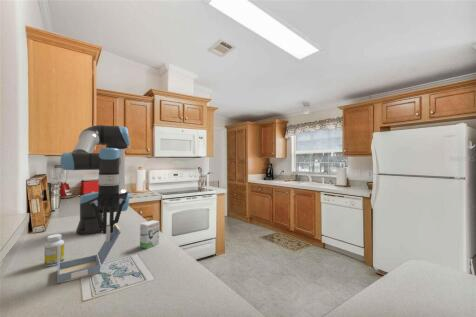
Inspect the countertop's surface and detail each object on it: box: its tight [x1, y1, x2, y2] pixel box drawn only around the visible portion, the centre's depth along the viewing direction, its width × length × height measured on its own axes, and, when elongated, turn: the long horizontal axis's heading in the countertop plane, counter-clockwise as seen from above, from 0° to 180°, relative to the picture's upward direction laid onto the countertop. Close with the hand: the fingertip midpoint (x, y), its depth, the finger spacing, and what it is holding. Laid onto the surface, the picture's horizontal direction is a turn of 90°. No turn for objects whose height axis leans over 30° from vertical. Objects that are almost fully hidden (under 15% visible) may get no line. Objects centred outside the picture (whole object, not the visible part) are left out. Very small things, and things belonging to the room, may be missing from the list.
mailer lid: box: [97, 223, 122, 265], centre depth 94 cm, size 12×14×2 cm
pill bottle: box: [44, 233, 65, 267], centre depth 95 cm, size 6×6×12 cm
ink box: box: [139, 219, 160, 249], centre depth 115 cm, size 9×5×12 cm, turn 155°
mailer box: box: [56, 254, 101, 285], centre depth 88 cm, size 12×13×3 cm
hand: (107, 240), depth 94 cm, fingers closed
